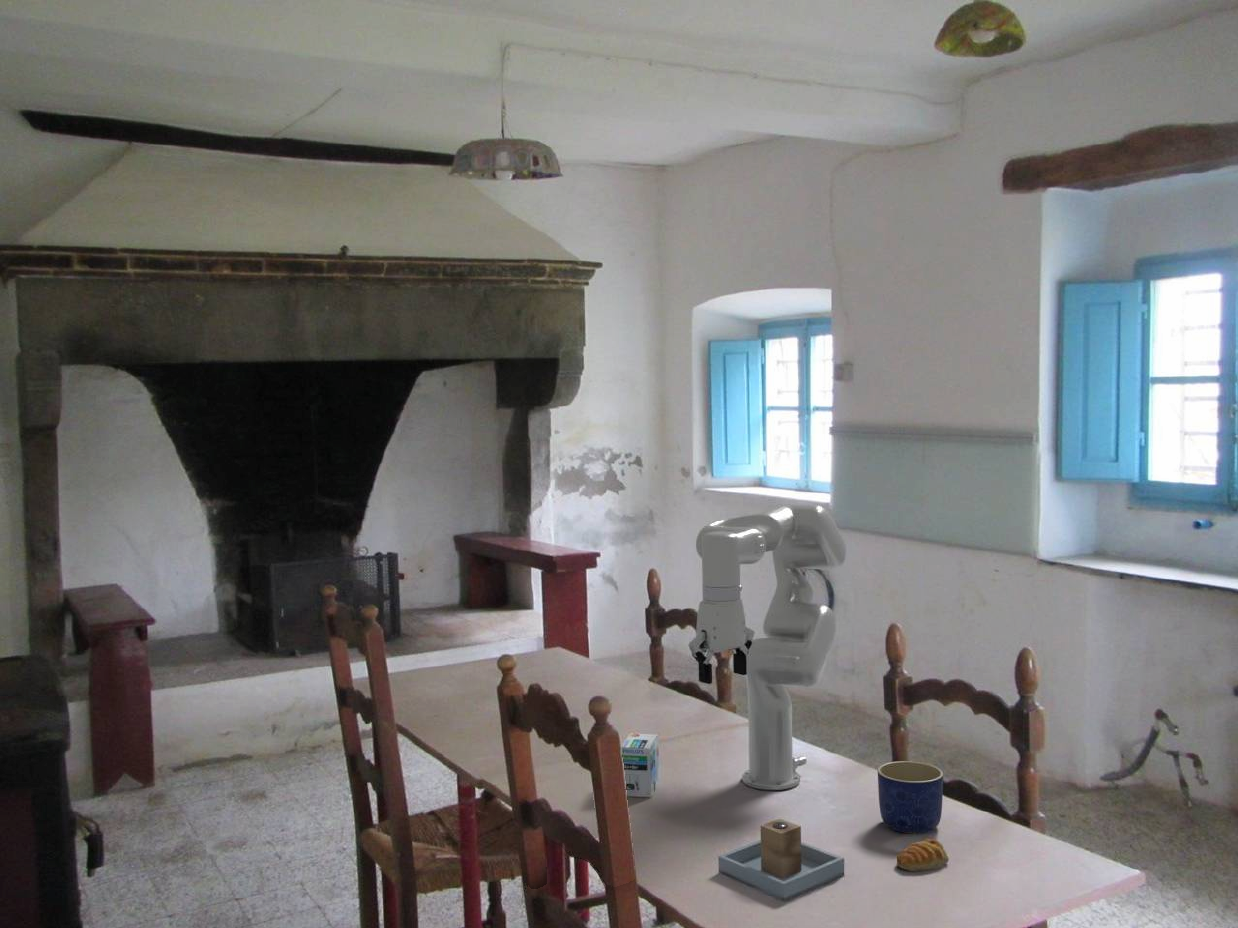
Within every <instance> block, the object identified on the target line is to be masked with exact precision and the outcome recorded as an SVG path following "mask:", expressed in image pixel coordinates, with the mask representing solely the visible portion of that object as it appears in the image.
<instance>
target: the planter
mask: <svg viewBox="0 0 1238 928" xmlns="http://www.w3.org/2000/svg"><path fill="white" fill-rule="evenodd" d="M877 789H878V803H879V804H878V805H879V811H880V816H881V819H882V821H883V822H884V824H885V825H886V826H888V828H891V830H894V831H898V832H901V833H905V834H906V833H907V834H923V833H924V834H925V833H928V832H930V831H933V830H934V829H936V828H937V827H938V826H939V824H940V822H941V818H942V811H943V810H942V809H943V792H944V772H943V771H942V769H940V768H939V767H937V766H935V765H932V764H929V763H924V762H919V761H909V760H908V761H907V760H903V761H902V760H901V761H891V762H886V763H883V764H881V765H880V766H879V767H878V768H877Z"/></svg>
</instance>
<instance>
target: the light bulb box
mask: <svg viewBox="0 0 1238 928" xmlns="http://www.w3.org/2000/svg"><path fill="white" fill-rule="evenodd" d="M659 742H660V741H659V735H658V734H651V733H650V734H649V733H634V732H633V733H628V735H627V737H626V739H625V741H623V743H622V745H621V747H620V750H621V749H622V757H623V763H624V771H625V781H626V790H627V795H628V796H627V797H635V798H636V797H637V798H652V797H653V795H654V793H655V792H656V790H657V788H658V786H659V784H660V747H659Z"/></svg>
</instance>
